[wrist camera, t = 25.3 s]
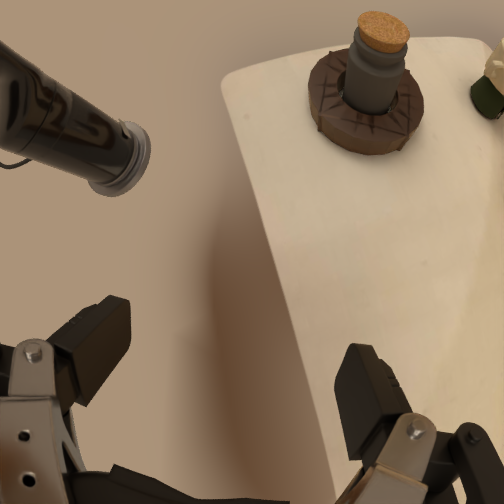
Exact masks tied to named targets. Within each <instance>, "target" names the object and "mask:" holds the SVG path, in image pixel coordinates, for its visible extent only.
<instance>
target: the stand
mask: <svg viewBox="0 0 504 504" xmlns="http://www.w3.org/2000/svg"><path fill="white" fill-rule="evenodd" d="M348 52H349V48H347V49H342V50H338V51H335V52H332V51H329V54H328V55H326V56H325V57H323V58H322V59H320V60H319V61H318V62H317V64H316V65H315V66H314V68H313V69H312V71H311V73H310V78H309V83H308V91H309V104H310V109H311V114H312V117H313V119H314V120H315V122H316V124H317V126H318V131H321V132H323V133H324V134H325V135H326V136H327V137H328V138H329V139H330V140H331V141H332V142H334V143H336V144H338V145H339V146H341V147H343V148H345V149H347V150H349V151H352V152H356V153H360V154H364V155H383V154H387V153H389V152H392V151H395V150H398V151H400V150H401V149H402V147H403V146H404V145H405V143H406V142H407V141H408V140H409V139H410V137H411V136H412V134H413V133H414V132H415V130H416V129H417V127H418V126H419V123H420V121H421V119H422V116H423V113H424V100H423V96H422V93H421V91H420V88H419V86H418V84H417V82H416V81H415V79H414V78H413V77H412V75H411V74H410V70H407V69H404V72H403V75H402V77H401V80H400V82H399V85H398V87H397V90H396V92H395V95H394V97H393V99H392V102H391V104H390V106H391V112H389V113H387V114H384V115H381V116H370V115H366V114H362V113H360V112H358V111H356V110H354V109H352V108H351V107H349V106H348V105H347V104H346V103H345V102H344V101H343V100H342V98H341V97H340V95H339V91H340V90H341V89H342V88H344V86H345V77H346V69H347V60H348Z"/></svg>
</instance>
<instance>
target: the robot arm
mask: <svg viewBox="0 0 504 504" xmlns="http://www.w3.org/2000/svg"><path fill="white" fill-rule="evenodd" d="M119 121H120V123H118V122H117V121H116V120H114V119H113V118H111V117H110V116H108V115H107V114H105V113H104V112H102V111H101V110H99V109H98V108H96V107H95V106H93V105H92V104H91V103H89V102H88V101H86V100H84V99H83V98H82V97H80V96H79V95H77V94H76V93H74V92H72V91H71V90H69V89H68V88H66V87H65V86H63V85H62V84H60V83H59V82H57V81H56V80H54V79H52V78H51V77H49V76H48V75H46V74H45V73H44V72H43V71H41V70H40V69H39V68H38V67H37V66H35V65H34V64H32V63H31V62H29V61H28V60H26V59H25V58H23V57H22V56H20V55H19V54H18V53H16V52H15V51H14V50H12V49H11V48H10V47H8V46H7V45H6V44H4V43H3V42H2V41H0V148H1V149H3V150H5V151H8V152H11V153H14V154H17V155H20V156H23V157H26V158H27V159H25V160H23V161H21V162H19V163H17V164H13V165H4V164H2V163H1V162H0V167H2V168H4V169H13V168H17V167H19V166H22V165H24V164H26V163H28V162H29V161H31V160H35V161H37V162H40V163H43V164H46V165H48V166H51V167H54V168H57V169H59V170H62V171H65V172H68V173H71V174H73V175H76V176H78V177H81V178H84V179H87V180H89V181H92V182H94V183H96V184H98V185H101V186H104V187H109V186H113V185H115V184H117V183H119V182H120V181H122V180H123V179H124V178H125V177H126V176H127V175H128V173H129V172H130V171H131V169H132V167H133V166H134V163H135V161H136V158H137V155H138V140H137V137H136V135H135V134H134V133H133V132H132V131H131V130H130V129H128V128H126V126H125V123H124V122H123V121H121V120H120V119H119ZM130 342H131V310H130V302H129V300H127V299H123V298H119V297H116V296H112V295H109V296H107V297H106V298H105V299H104V300H102V301H101V302H100V303H99V304H98V305H97V304H94V305H91V306H89V307H86V308H84V309H82V310H81V311H80V312H79V313H78V314H76V315H75V317H73V318H72V319H70V320H69V322H67V323H65V324H64V325H63V326H62V327H61V328H60V329H58V330H57V331H56V332H55V333H54V334H52V335H51V336H50V337H49V338H48V339H47V340H46V341H44V340H42V339H28V340H25V341H23V342H21V343H19V344H18V345H17V346H16V347H11V346H6V345H3V344H0V504H290V501H273V500H261V499H251V498H237V499H196V498H193V497H191V496H188V495H186V494H184V493H182V492H180V491H178V490H176V489H174V488H172V487H170V486H168V485H166V484H164V483H162V482H160V481H159V480H157V479H155V478H152V477H149V476H146V475H143V474H140V473H137V472H134V471H132V470H129V469H126V468H124V467H121V466H118V465H116V464H114V465H113V467H112V469H111V471H110V473H109V472H101V471H87V470H86V468H85V466H84V463H83V460H82V457H81V454H80V450H79V446H78V442H77V436H76V431H75V426H74V421H73V415H72V410H71V406H72V405H73V403H74V402H76V403H78V404H80V405H83V406H85V407H87V405H88V404H89V403H90V401H91V400H92V398H93V397H94V396H95V394H96V393H97V391H98V390H99V389H100V387H101V386H102V384H103V383H104V382H105V380H106V379H107V378H108V376H109V375H110V374H111V372H112V371H113V369H114V368H115V367H116V365H117V364H118V363H119V361H120V360H121V359H122V357H123V356H124V355H125V353H126V352H127V351H128V349H129V346H130ZM334 392H335V396H336V401H337V405H338V410H339V414H340V419H341V423H342V428H343V433H344V437H345V442H346V447H347V452H348V457H349V461H350V460H362V463H363V466H362V467H361V468H360V469H359V470H358V472H357V473H356V475H355V476H354V478H353V479H352V481H351V482H350V484H349V485H348V486H347V488H346V489H345V491H344V492H343V493H342V495H341V496H340V497H339V499H338V500H337V501H336V503H335V504H459V503H458V500H457V497H456V494H455V491H454V488H453V485H452V483H453V482H454V481H455V480H457V479H458V478H459V477H460V479H461V482H462V485H463V487H464V490H465V493H466V497H467V500H466V504H504V466H503V464H502V462H501V460H500V458H499V456H498V454H497V452H496V450H495V448H494V446H493V444H492V442H491V440H490V438H489V436H488V434H487V433H486V431H485V430H484V429H483V428H482V427H480V426H479V425H477V424H475V423H470V422H466V423H463V424H462V425H460V426H459V428H458V429H457V430H456V432H455V433H454V434H453V433H446V432H440V431H436V428H435V426H434V424H433V423H432V422H431V421H430V420H429V419H428V418H427V417H425V416H423V415H421V414H418V413H413V411H412V409H411V407H410V405H409V403H408V401H407V399H406V397H405V395H404V393H403V390H402V388H401V387H400V384H399V382H398V381H397V379H396V377H395V375H394V373H393V371H392V369H391V367H390V366H389V365H387V364H386V363H385V362H384V361H383V360H382V359H379V358H378V356H377V354H376V352H375V350H374V348H373V347H372V345H366V344H356V343H352V344H350V345H349V347H348V349H347V352H346V354H345V357H344V359H343V361H342V364H341V366H340V369H339V371H338V373H337V376H336V379H335V384H334Z"/></svg>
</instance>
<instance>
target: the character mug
mask: <svg viewBox="0 0 504 504" xmlns="http://www.w3.org/2000/svg"><path fill="white" fill-rule="evenodd" d="M485 68H486V69H485V70H484V76H482V77H481V78H480V79H479V80H478V81H477V82H476V83H474V84H473V85H472V86H471V95H472V98H473V101H474V102H475V104H476V106H477V108H478V109H479V110H480V111H481V112H482V113H483V114H484V115H485V116H487V117H489V118H491V119H494V118H495V117H496V115H497V114H499V113H501V114H500V116H501V115H502V113H503V112H504V38H503V39H502V40H501V41H500V43H499V44H498V46H497V47H496V49H495V50H494V52H493V53H492V54H491V56H490V57H489V59H488V60H487V62H486V64H485ZM500 116H499V117H500ZM499 117H498V118H499ZM498 118H497V119H498Z"/></svg>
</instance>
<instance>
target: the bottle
mask: <svg viewBox="0 0 504 504" xmlns="http://www.w3.org/2000/svg"><path fill="white" fill-rule="evenodd" d="M409 37H410V34H409V30H408V28H407V27H406V25H405V24H404V23H402V21H400V20H399V19H397V18H396V17H394V16H392V15H389V14H387V13H383V12H377V11H370V12H365V13H363V14H361V15H360V16H359V18H358V27H357V28H356V30H355V32H354V42H353V43H352V44H351V45H350V47H349V52H348V60H347V69H346V77H345V86H344V94H343V101H344V102H345V103H346V104H347V105H348V106H349V107H351V108H352V109H354V110H356V111H358V112H360V113H362V114H366V115H370V116H381V115H384V114H386V113H387V111H388V108H389V106H390V104H391V102H392V99H393V97H394V95H395V92H396V90H397V87H398V85H399V82H400V80H401V77H402V75H403V72H404V69H405V60H404V57H405V56H406V53H407V49H408V47H407V43H406V42H407V41H408V40H409Z"/></svg>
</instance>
